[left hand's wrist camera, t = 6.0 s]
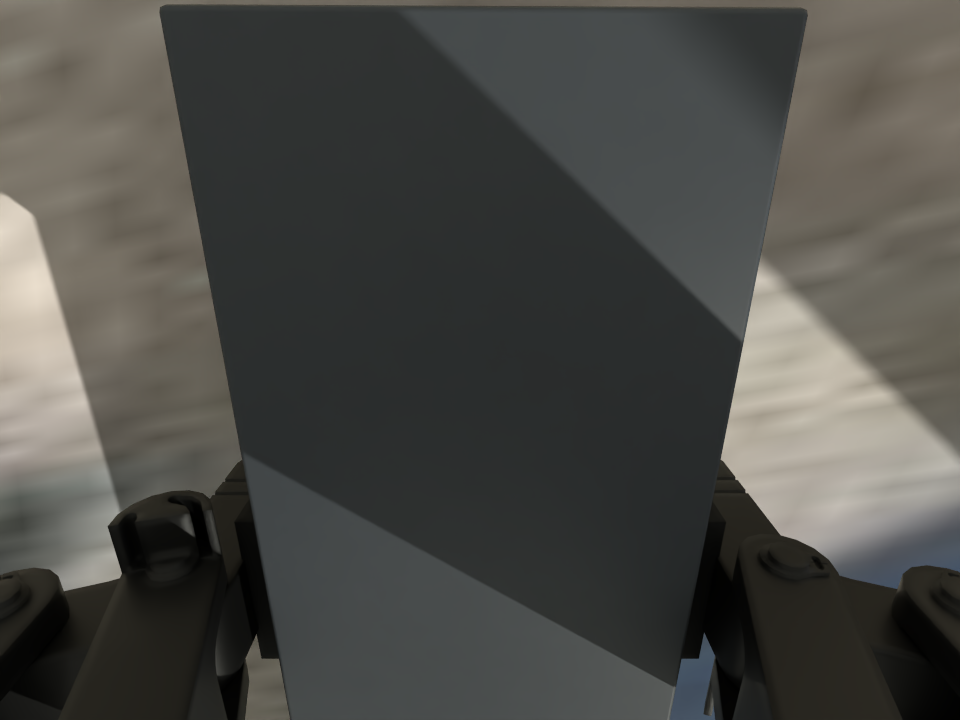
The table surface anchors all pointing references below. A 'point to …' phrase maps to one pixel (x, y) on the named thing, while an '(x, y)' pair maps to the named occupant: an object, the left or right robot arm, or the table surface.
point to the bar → (481, 331)
